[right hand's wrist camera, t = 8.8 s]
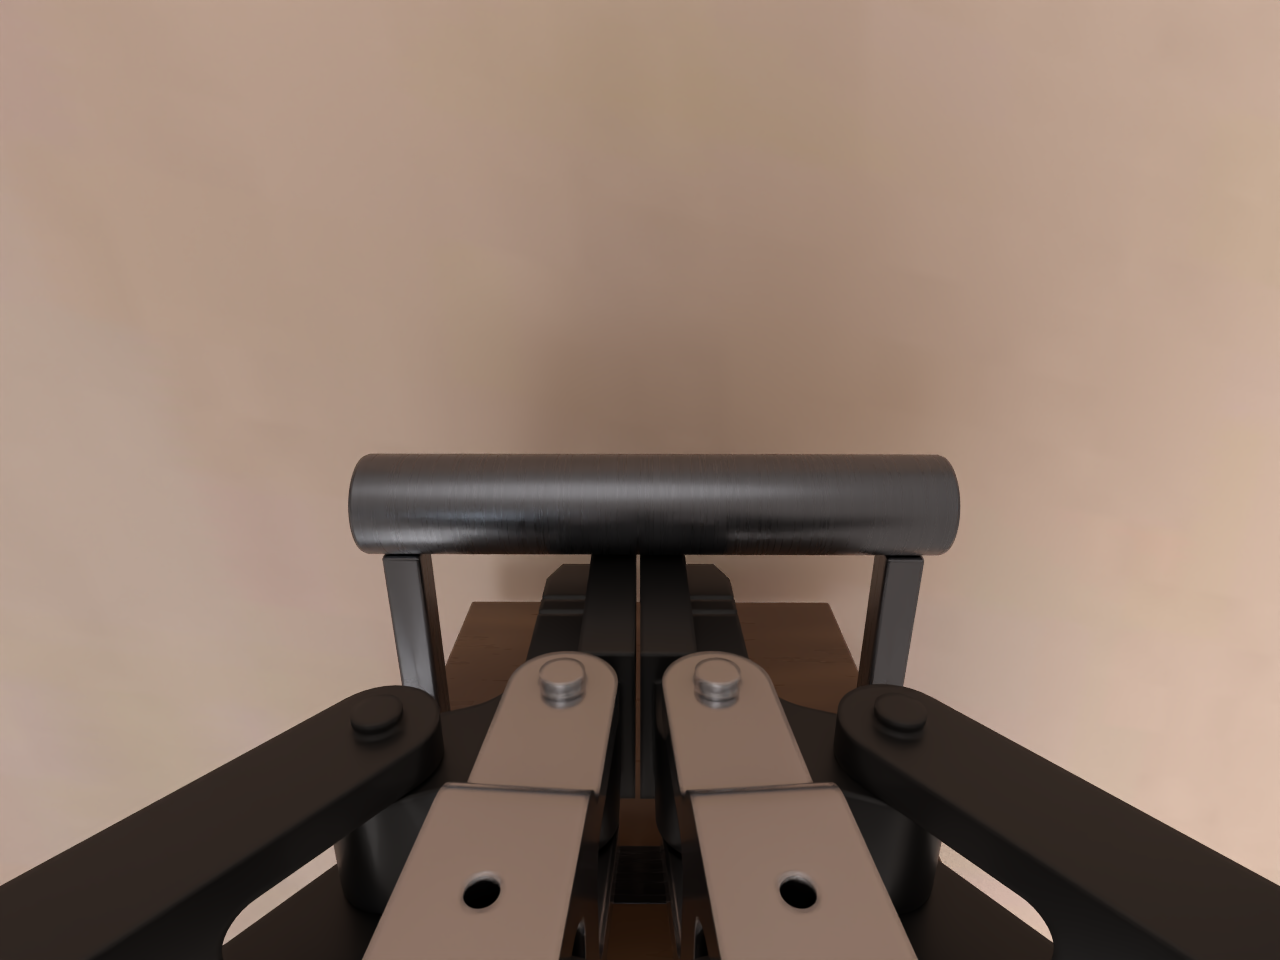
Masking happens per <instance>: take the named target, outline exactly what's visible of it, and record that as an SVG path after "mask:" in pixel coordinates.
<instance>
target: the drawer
mask: <svg viewBox="0 0 1280 960" xmlns="http://www.w3.org/2000/svg"><path fill="white" fill-rule="evenodd" d="M348 513H349V522H350V528H351V532H352V536H353V538H354V541H355V543H356V545H357V546H358V548H359V549H360V550H361V551H363V552H365V553H368V554H385V555H384V556H383V566H384V572H385V578H386V585H387V591H388V598H389V604H390V610H391V617H392V623H393V630H394V636H395V642H396V649H397V655H398V662H399V668H400V674H401V681H402V686H410V687H415V688H418V689H421V690H424V691H426V692H428V693H429V694H430V695H431V696H433V697H434V698H435V700H436V701H437V703H438V705H439V709H440V713H442V712H447V711H451V710H456V709H461V708H465V707H470V706H473V705H477V704H480V703H483V702H486V701H488V700H491V699H493V698H495V697H497V696H499V695H500V694H502V693H503V692H504V690H505V688H506V685H507V683H508V680H509V678H510V677H511V675H512V673H513V672H514V671H515V670H516V669H517V668H518V667H519V666H521V665H522V664H523V663H525V662H526V658H527V654H528V650H529V646H530V643H531V639H532V635H533V631H534V627H535V623H536V619H537V615H538V614H539V607H540V604H541V602H472V604H471V606H470V609H469V611H468V614H467V616H466V618H465V621H464V623H463V625H462V628H461V630H460V633H459V635H458V637H457V640H456V642H455V644H454V647H453V649H452V652H451V654H450V656H449V659H448V661H447V663H446V666H445V661H444V653H443V646H442V638H441V630H440V622H439V614H438V606H437V598H436V590H435V582H434V575H433V567H432V559H431V554H633V555H875V557H874V565H873V572H872V579H871V586H870V594H869V601H868V608H867V615H866V622H865V630H864V637H863V644H862V651H861V659H860V666H859V672H858V670H857V667H856V665H855V663H854V660H853V658H852V656H851V653H850V651H849V649H848V647H847V644H846V642H845V640H844V637H843V635H842V633H841V631H840V628H839V626H838V624H837V621H836V619H835V617H834V615H833V612H832V610H831V608H830V605H829V604H828V603H735V604H736V608H737V614H738V616H739V620H740V624H741V628H742V633H743V637H744V641H745V645H746V649H747V653H748V657H749V659H750V660H752V661H753V662H755V663H757V664H758V665H759V666H761V667H762V668H763V669H764V670H765V671H766V672H767V673H768V675H769V677H770V678H771V680H772V683H773V685H774V688H775V690H776V693H777V695H778V697H780V698H782V699H784V700H786V701H789V702H791V703H794V704H797V705H801V706H804V707H808V708H813V709H818V710H822V711H827V712H831V713H836V714H837V710H838V705H839V702H840V700H841V699H842V697H843V696H844V695H845V694H846V693H848V692H849V691H851V690H853V689H855V688H857V687H861V686H864V685H871V684H890V685H897V686H903V683H904V677H905V671H906V665H907V660H908V654H909V648H910V642H911V636H912V630H913V624H914V618H915V612H916V606H917V600H918V594H919V588H920V582H921V576H922V571H923V565H924V559H923V557H922V555H941V554H943V553H945V552H947V551H948V550H949V549H950V547H951V546H952V544H953V542H954V540H955V537H956V534H957V530H958V526H959V519H960V494H959V487H958V482H957V478H956V475H955V472H954V470H953V468H952V466H951V464H950V462H949V461H948V460H947V459H946V458H944V457H942V456H940V455H871V454H368V455H366V456H364V457H362V458H361V459H360V460H359V462H358V463H357V465H356V467H355V469H354V472H353V475H352V478H351V483H350V489H349V498H348ZM619 821H620V854H619V862H618V870H617V879H616V887H615V895H614V903H613V911H612V920H611V928H610V936H609V944H608V953H607V960H673V952H672V944H671V936H670V928H669V920H668V911H667V903H666V895H665V887H664V879H663V870H662V862H661V854H660V833H659V830H658V828H657V825H656V818H655V799H640V602H636V760H635V799H620V817H619ZM938 860H939V861H940V862H941V859H940V857H938Z"/></svg>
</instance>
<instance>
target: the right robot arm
mask: <svg viewBox="0 0 1280 960" xmlns="http://www.w3.org/2000/svg"><path fill="white" fill-rule="evenodd" d="M635 760H636V555H633V554H592V555H591V562H590V564H563V565H562V566H560V567H559V568H558V569H557V570H556V571H555V572H554V573H553V574H552V575H551V576H549V577H548V578H547V580H546V584H545V588H544V592H543V596H542V600H541V604H540V607H539V614H538V615H537V619H536V623H535V627H534V631H533V635H532V639H531V643H530V646H529V650H528V654H527V658H526V662H525V663H523V664H522V665H521V666H519V667H518V668H517V669H516V670H515V671H514V672H513V673H512V675H511V677H510V678H509V680H508V683H507V685H506V688H505V690H504V692H503V693H502V694H500V695H499V696H497V697H495V698H493V699H491V700H488V701H486V702H483V703H480V704H477V705H473V706H470V707H465V708H461V709H456V710H451V711H447V712H442V713H440V709H439V705H438V703H437V701H436V700H435V698H434V697H433V696H431V695H430V694H429V693H428V692H426V691H424V690H421V689H418V688H415V687H410V686H399V685H394V686H383V687H377V688H373V689H369V690H365V691H362V692H360V693H357V694H354V695H352V696H350V697H348V698H346V699H344V700H342V701H340V702H339V703H337V704H335V705H333V706H331V707H329V708H328V709H326V710H324V711H322V712H320V713H318V714H316V715H315V716H313V717H311V718H309V719H307V720H305V721H304V722H302V723H300V724H298V725H296V726H294V727H293V728H291V729H289V730H287V731H285V732H283V733H281V734H280V735H278V736H276V737H274V738H272V739H270V740H269V741H267V742H265V743H263V744H261V745H259V746H258V747H256V748H254V749H252V750H250V751H248V752H246V753H245V754H243V755H241V756H239V757H237V758H235V759H234V760H232V761H230V762H228V763H226V764H224V765H222V766H221V767H219V768H217V769H215V770H213V771H211V772H210V773H208V774H206V775H204V776H202V777H200V778H199V779H197V780H195V781H193V782H191V783H189V784H187V785H186V786H184V787H182V788H180V789H178V790H176V791H175V792H173V793H171V794H169V795H167V796H165V797H164V798H162V799H160V800H158V801H156V802H154V803H152V804H151V805H149V806H147V807H145V808H143V809H141V810H140V811H138V812H136V813H134V814H132V815H130V816H128V817H127V818H125V819H123V820H121V821H119V822H117V823H116V824H114V825H112V826H110V827H108V828H106V829H105V830H103V831H101V832H99V833H97V834H95V835H93V836H92V837H90V838H88V839H86V840H84V841H82V842H81V843H79V844H77V845H75V846H73V847H71V848H70V849H68V850H66V851H64V852H62V853H60V854H58V855H57V856H55V857H53V858H51V859H49V860H47V861H46V862H44V863H42V864H40V865H38V866H36V867H35V868H33V869H31V870H29V871H27V872H25V873H23V874H22V875H20V876H18V877H16V878H14V879H12V880H11V881H9V882H7V883H5V884H3V885H1V886H0V960H607V953H608V944H609V936H610V928H611V920H612V911H613V903H614V895H615V887H616V879H617V870H618V862H619V854H620V821H619V817H620V799H635ZM640 799H655V818H656V825H657V828H658V830H659V833H660V854H661V862H662V870H663V879H664V887H665V895H666V903H667V911H668V920H669V928H670V936H671V944H672V952H673V960H1280V886H1279V885H1277V884H1275V883H1273V882H1271V881H1269V880H1268V879H1266V878H1264V877H1262V876H1260V875H1258V874H1257V873H1255V872H1253V871H1251V870H1249V869H1247V868H1245V867H1244V866H1242V865H1240V864H1238V863H1236V862H1234V861H1233V860H1231V859H1229V858H1227V857H1225V856H1223V855H1222V854H1220V853H1218V852H1216V851H1214V850H1212V849H1210V848H1209V847H1207V846H1205V845H1203V844H1201V843H1199V842H1198V841H1196V840H1194V839H1192V838H1190V837H1188V836H1186V835H1185V834H1183V833H1181V832H1179V831H1177V830H1175V829H1174V828H1172V827H1170V826H1168V825H1166V824H1164V823H1163V822H1161V821H1159V820H1157V819H1155V818H1153V817H1151V816H1150V815H1148V814H1146V813H1144V812H1142V811H1140V810H1139V809H1137V808H1135V807H1133V806H1131V805H1129V804H1128V803H1126V802H1124V801H1122V800H1120V799H1118V798H1116V797H1115V796H1113V795H1111V794H1109V793H1107V792H1105V791H1104V790H1102V789H1100V788H1098V787H1096V786H1094V785H1093V784H1091V783H1089V782H1087V781H1085V780H1083V779H1081V778H1080V777H1078V776H1076V775H1074V774H1072V773H1070V772H1069V771H1067V770H1065V769H1063V768H1061V767H1059V766H1057V765H1056V764H1054V763H1052V762H1050V761H1048V760H1046V759H1045V758H1043V757H1041V756H1039V755H1037V754H1035V753H1034V752H1032V751H1030V750H1028V749H1026V748H1024V747H1022V746H1021V745H1019V744H1017V743H1015V742H1013V741H1011V740H1010V739H1008V738H1006V737H1004V736H1002V735H1000V734H999V733H997V732H995V731H993V730H991V729H989V728H987V727H986V726H984V725H982V724H980V723H978V722H976V721H975V720H973V719H971V718H969V717H967V716H965V715H963V714H962V713H960V712H958V711H956V710H954V709H952V708H951V707H949V706H947V705H945V704H943V703H941V702H940V701H938V700H936V699H934V698H932V697H930V696H928V695H926V694H924V693H922V692H919V691H916V690H914V689H910V688H906V687H903V686H897V685H890V684H871V685H864V686H861V687H857V688H855V689H853V690H851V691H849V692H848V693H846V694H845V695H844V696H843V697H842V699H841V700H840V702H839V705H838V710H837V714H836V713H831V712H827V711H822V710H818V709H813V708H808V707H804V706H801V705H797V704H794V703H791V702H789V701H786V700H784V699H782V698H780V697H778V695H777V693H776V690H775V688H774V685H773V683H772V680H771V678H770V677H769V675H768V673H767V672H766V671H765V670H764V669H763V668H762V667H761V666H759V665H758V664H757V663H755V662H753V661H752V660H750V659H749V657H748V653H747V649H746V645H745V641H744V637H743V633H742V628H741V624H740V620H739V616H738V614H737V608H736V604H735V600H734V596H733V592H732V588H731V584H730V580H729V578H728V577H727V576H725V575H724V574H723V573H722V572H721V571H720V570H719V569H718V568H717V567H716V566H715V565H714V564H686V562H685V555H640ZM941 841H942V842H943V843H945V844H946V845H947V846H949V847H950V848H952V849H953V850H955V851H956V852H958V853H959V854H960V855H962V856H963V857H965V858H966V859H968V860H969V861H970V862H972V863H973V864H975V865H976V866H978V867H979V868H980V869H982V870H983V871H985V872H986V873H988V874H989V875H991V876H992V877H993V878H995V879H996V880H998V881H999V882H1001V883H1002V884H1003V885H1005V886H1006V887H1008V888H1009V889H1011V890H1012V891H1013V892H1015V893H1016V894H1018V895H1019V896H1021V897H1022V898H1023V899H1025V900H1026V901H1027V902H1028V903H1029V904H1030V905H1031V906H1032V907H1033V908H1034V909H1035V910H1036V911H1037V912H1038V913H1039V914H1040V916H1041V917H1042V918H1043V920H1044V921H1045V923H1046V925H1047V926H1048V928H1049V931H1050V933H1051V935H1052V939H1053V942H1051V941H1050V940H1048V939H1047V938H1046V937H1044V936H1043V935H1041V934H1040V933H1039V932H1037V931H1036V930H1035V929H1033V928H1032V927H1030V926H1029V925H1028V924H1026V923H1025V922H1023V921H1022V920H1021V919H1019V918H1018V917H1016V916H1015V915H1014V914H1012V913H1011V912H1010V911H1008V910H1007V909H1005V908H1004V907H1003V906H1001V905H1000V904H998V903H997V902H996V901H994V900H993V899H991V898H990V897H989V896H987V895H986V894H985V893H983V892H982V891H980V890H979V889H978V888H976V887H975V886H973V885H972V884H971V883H969V882H968V881H967V880H965V879H964V878H962V877H961V876H960V875H958V874H957V873H955V872H954V871H953V870H951V869H950V868H948V867H947V866H946V865H944V864H943V863H942V862H940V861H939V860H938V857H939V852H940V847H941ZM332 845H334V849H335V854H336V859H337V864H336V865H334V866H333V867H332V868H330V869H329V870H327V871H326V872H325V873H323V874H322V875H320V876H319V877H318V878H316V879H315V880H313V881H312V882H311V883H309V884H308V885H307V886H305V887H304V888H302V889H301V890H300V891H298V892H297V893H295V894H294V895H293V896H291V897H290V898H288V899H287V900H286V901H284V902H283V903H282V904H280V905H279V906H277V907H276V908H275V909H273V910H272V911H270V912H269V913H268V914H266V915H265V916H264V917H262V918H261V919H259V920H258V921H257V922H255V923H254V924H252V925H251V926H250V927H248V928H247V929H245V930H244V931H243V932H241V933H240V934H239V935H237V936H236V937H234V938H233V939H232V940H230V941H229V942H227V943H226V944H225V945H223V946H222V944H223V941H224V937H225V935H226V933H227V931H228V929H229V927H230V925H231V924H232V922H233V921H234V920H235V918H236V917H237V916H238V915H239V914H240V912H241V911H242V910H243V909H244V908H245V907H246V906H248V905H249V904H250V903H251V902H252V901H254V900H255V899H256V898H258V897H259V896H261V895H262V894H264V893H265V892H266V891H268V890H269V889H271V888H272V887H274V886H275V885H277V884H278V883H279V882H281V881H282V880H284V879H285V878H287V877H288V876H289V875H291V874H292V873H294V872H295V871H297V870H298V869H299V868H301V867H302V866H304V865H305V864H307V863H308V862H310V861H311V860H312V859H314V858H315V857H317V856H318V855H320V854H321V853H322V852H324V851H325V850H327V849H328V848H330V847H331V846H332Z"/></svg>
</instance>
